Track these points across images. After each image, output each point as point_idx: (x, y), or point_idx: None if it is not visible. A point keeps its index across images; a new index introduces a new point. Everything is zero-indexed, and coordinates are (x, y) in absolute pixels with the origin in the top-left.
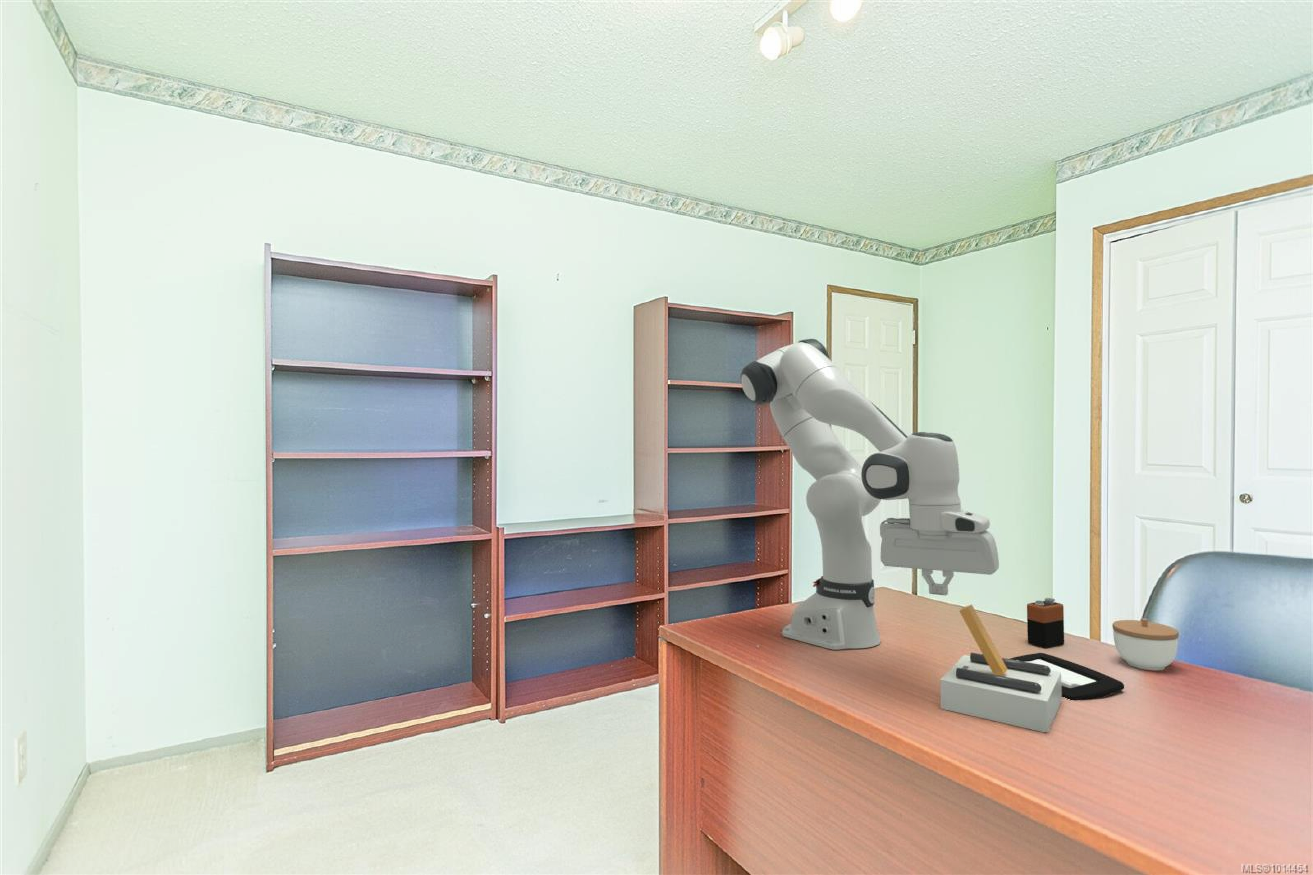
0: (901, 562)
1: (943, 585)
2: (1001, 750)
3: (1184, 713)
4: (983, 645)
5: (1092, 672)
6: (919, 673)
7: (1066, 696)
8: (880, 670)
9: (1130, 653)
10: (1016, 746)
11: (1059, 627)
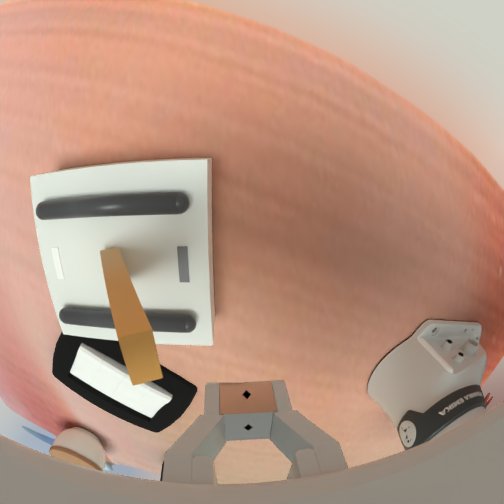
0: (465, 447)
1: (211, 416)
2: (99, 63)
3: (7, 331)
4: (115, 275)
5: (84, 393)
6: (292, 308)
7: None
8: (354, 283)
9: (82, 438)
10: (84, 91)
11: (162, 476)
